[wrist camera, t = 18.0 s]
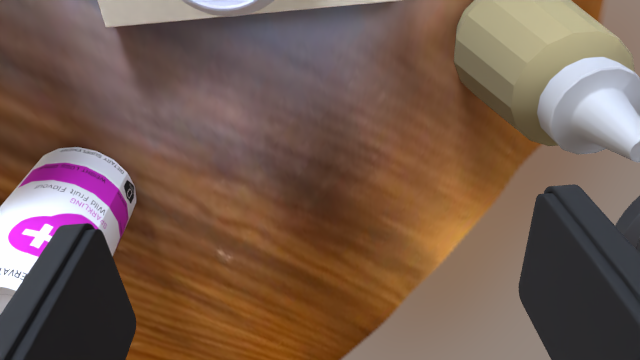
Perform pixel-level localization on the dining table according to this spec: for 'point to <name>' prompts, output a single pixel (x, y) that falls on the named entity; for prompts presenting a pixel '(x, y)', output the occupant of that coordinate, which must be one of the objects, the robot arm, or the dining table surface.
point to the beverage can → (228, 6)
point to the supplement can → (61, 208)
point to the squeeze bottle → (551, 74)
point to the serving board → (167, 6)
